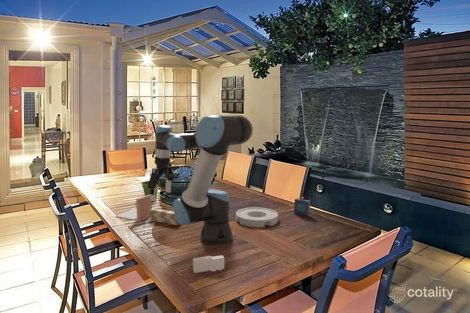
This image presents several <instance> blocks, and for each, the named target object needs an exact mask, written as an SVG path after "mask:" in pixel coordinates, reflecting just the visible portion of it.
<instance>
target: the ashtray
mask: <svg viewBox="0 0 470 313" xmlns="http://www.w3.org/2000/svg"><path fill="white" fill-rule="evenodd" d="M278 220H279V213H278V212H277V211H276V210H274V209H272V208H266V207H257V206H255V207H245V208H240V209H238V210H237V211H236V212H235V221H236V223H237V222H238V223H239V224H240V225H242V226H245V227H250V226H251V228H253V227H254V228H264V227H266V226H271V227H272V226H275V225H277V223H278Z"/></svg>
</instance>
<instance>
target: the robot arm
mask: <svg viewBox="0 0 470 313" xmlns="http://www.w3.org/2000/svg"><path fill="white" fill-rule="evenodd" d="M253 128H254V127H253V125H252V122H251V121H250V120H249V119H248V118H247V117H245V116H243V115H239V114H229V115H228V114H227V115H218V114H212V115H206V116H204V117H202V119H200V120H199V122H198V124H197V126H196V132H194V133H193V132H192V133H191V132H190V133H173V130H172V129H173V128H172V126H171V125H166V124H160V125H157V126H156V128H155V129H156V130H155V152H154V155H155V157H154V164H155V167H153V168H151V175H150V177H149V180H148V181H149V183H148V188H150V200H151V201H154V202H156V200H157V198H156V188H155V187H156V185H157V183H158V181H159V180H160V178H161V177H162V176H163V175H164V176H165V178H166V180H165V192H166V193H169V194H171V192H172V182H173V181H174V180H175V175H174V171H173V168H172V167H173V166H172V165H173V164H172V163H171V155H172V154H171V153H172V152H174V153H180V152H182V151H184V150H191V149H192V150H193V149H200V150H199V154H198V157H197V160H196V163H195V165H194V169H193V172H192V175H191V177H190V181H189V183H188V186H187V189H185V190H184V191H182V194H181V197H180V198H176V199H175V200H173V202H172V203H173V204H172V205H173V206H172V208H173V209H172V210H173V212H174V214H175V217H176V219H177V221H178V222H179V223H180V224H179V225H181V226H185V225H191V224H192V225H193V224H196V223H200V222H203V226H202V228H201V231H200V241H201V242H202V243H205V244H208V245H223V244H227V243H230V242H231V241H232V240H233V232H232V228H231V225H230V194H229V193H228V192H227V191H224V190H221V189H210V188H211V184H212V182H213V179H214V177H215V174H216V171H217V169H218V166H219V164H220V161H221V158H222V157H223V156H225V155H226V154H227V153H228V150H229V148H230V146H235V145H236V146H237V145H243V144H244V143H246V142H248V141H249V140H250V139H251V137H253V136H252V135H253V130H254V129H253ZM159 182H160V181H159Z"/></svg>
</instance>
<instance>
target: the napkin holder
mask: <svg viewBox="0 0 470 313" xmlns="http://www.w3.org/2000/svg"><path fill="white" fill-rule="evenodd" d="M222 269H224V270H225V257H224V255H222V254H221V255H215V256H211V255H205V256H199V257H193V258H192V271H193V273H194V274H196V273H197V274H198V273H203V272H208V271H209V270H210V272H217V271H216V270H219V271H223V270H222Z"/></svg>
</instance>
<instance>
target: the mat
mask: <svg viewBox="0 0 470 313" xmlns="http://www.w3.org/2000/svg"><path fill="white" fill-rule="evenodd" d="M115 218H118V219H119V218H120V219H126V220H130V221H135V220H137V207H136V208H135V207H134V208H132V209H131V210H127V211H125V212H123V213H119V214H117V215H115Z"/></svg>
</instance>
